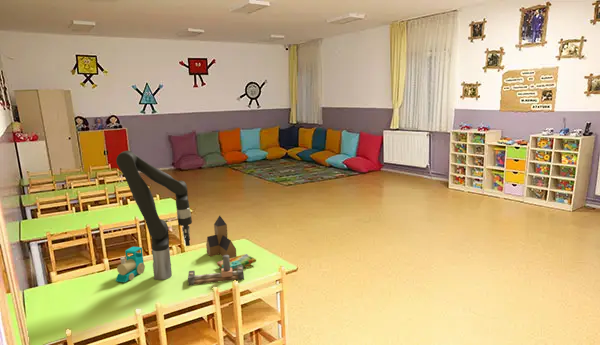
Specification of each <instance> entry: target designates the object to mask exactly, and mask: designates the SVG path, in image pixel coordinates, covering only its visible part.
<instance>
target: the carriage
mask: <svg viewBox="0 0 600 345" xmlns="http://www.w3.org/2000/svg"><path fill="white" fill-rule="evenodd" d="M222 260H223V268H222V269H221V268H220V269H221V271H220V273H222V277H231V276H233V272H232V268H230V260H229V255H223V257H222Z"/></svg>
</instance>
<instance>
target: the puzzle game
mask: <svg viewBox="0 0 600 345" xmlns="http://www.w3.org/2000/svg"><path fill="white" fill-rule="evenodd" d="M236 256H237V257H233V258H229V260H230V268H232V271H238V269H237V266H240V265H243V269H244V268H248V267H250V266H251V265H252V264H254V263H256V262H257V259H256V258H254V257H252V255H249V254H248V253H244V254H240V255H236ZM216 265H217V266H218V267H219V269H222V268H223V259H222V260H219V261H217V262H216Z"/></svg>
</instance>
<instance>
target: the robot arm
mask: <svg viewBox="0 0 600 345" xmlns="http://www.w3.org/2000/svg"><path fill="white" fill-rule="evenodd" d="M115 161H116V165H117V166H118V168H119V169H120V172H121V173H122V174H123V177H124V178H125V180H126V183H127V185H128V188H129V190H130V192H131V194H132V198H133V199H134V201H135V204H136V205H137V208H138V209H139V211H140V213H141V216H143V219H144V222H145V224H146V227H147V230H148V233H149V235H150V236H151V251H152V252H151V254H152V261H153V262H152V270H153V279H154V280H167V279H170V278H171V277H172V274H173V272H172V263H171V255H170V254H171V253H170V252H171V251H170V237H169V235H170V234H169V227H168V226H169V225H168V223H167V222H166V221H165V220H164V219H161V218H160V216H159V215H158V211H157V208H156V202H155V198H154V196H153V194H152V192H151V190H150V188H149V185H148V184H147V183H146V181H145V180H144V179H143V178H142V176H141V175H140V173H141V174H144V175H145V176H146V177H147V178H149V179H150V180H151V181H153V182H154V183H156V184H159V185H161V186H162V187H164V188H166V190H168V191H170V192H171V193H173V194H174V195H175V206H176V218H177V224H178V226H180V227H181V228H182V229H181V230H182V236H183V237H184V238H183V239H184V243H185V247H190V244H191V243H190V240H191V237H190V236H191V235H190V233H191V228H190V225H192V224H193V220H192V212H191V209H190V202H189V193H188V185H187V183H186V181H184V180H177V179H175V178H173V176H172V175H170V174H168V173H167V172H165V171H164V170H161V169H159V168H157V167H155V166H154V165H152V164H150V163H148V162H147V161H145V160H144V159H143V158H141V157H139V156H138V155H137V154H136V153H135V152H133V151H131V150H123V151H121V152H120V153H119V154H118V155H117V156H116V160H115Z"/></svg>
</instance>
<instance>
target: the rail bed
mask: <svg viewBox="0 0 600 345" xmlns="http://www.w3.org/2000/svg"><path fill="white" fill-rule="evenodd" d="M237 269H238V270H236V271H232V272H233V276H231V277H222V272H215V273H206V274H205V273H204V274H196V273H195V270H189V271H188V275H187V282H188V283H187V284H188V286H195V285H203V283H204V284H211V282H213V283H219V282H218V281H222V282H230V281H237V280H236V279H239V280H238V281H241V280H242V279H243V280H245V276H244V275H245V274H244V273H245V272H244V268H243V265H240V266H237ZM243 280H242V281H243Z"/></svg>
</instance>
